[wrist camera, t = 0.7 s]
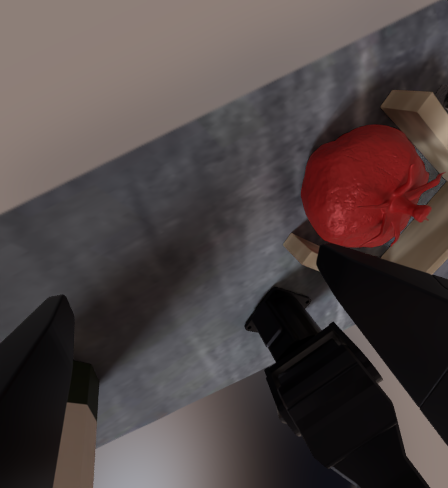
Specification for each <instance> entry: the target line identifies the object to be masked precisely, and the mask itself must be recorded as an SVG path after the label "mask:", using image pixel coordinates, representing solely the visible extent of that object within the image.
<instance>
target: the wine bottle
mask: <svg viewBox="0 0 448 488" xmlns="http://www.w3.org/2000/svg"><path fill="white" fill-rule="evenodd" d="M98 394H99V380H98V378H97V376H96V374H95V372H94V370H93V368H92V366H91V364H87V363H83V362H78V361H73V368H72V375H71V381H70V387H69V393H68V399H67V406H66V412H65V418H64V424H63V430H62V436H61V442H60V448H59V454H58V460H57V466H56V472H55V478H54V484H53V488H93V480H94V462H95V445H96V428H97V411H98Z"/></svg>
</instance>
